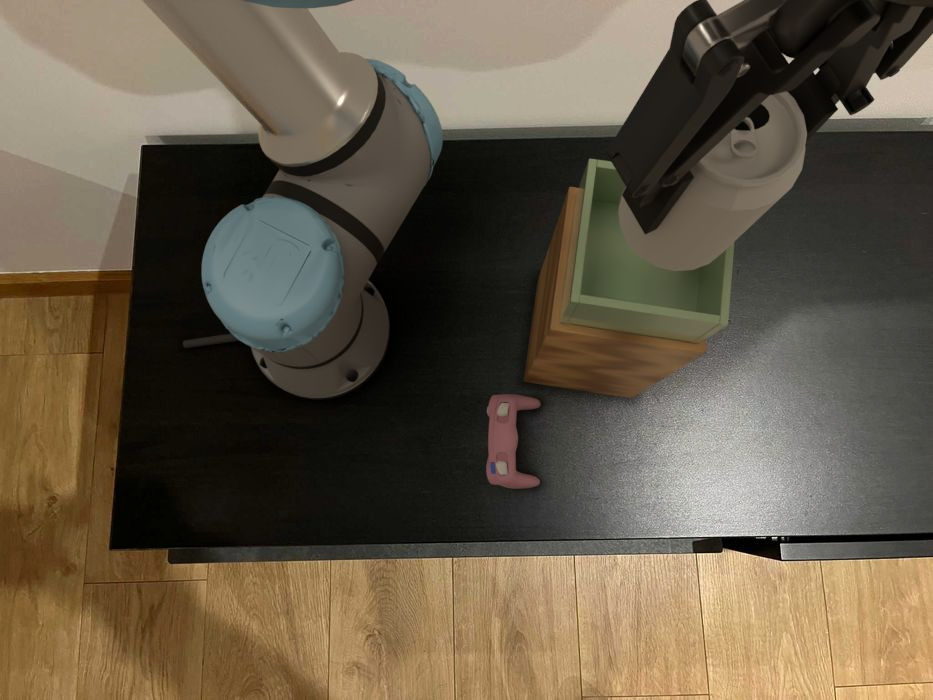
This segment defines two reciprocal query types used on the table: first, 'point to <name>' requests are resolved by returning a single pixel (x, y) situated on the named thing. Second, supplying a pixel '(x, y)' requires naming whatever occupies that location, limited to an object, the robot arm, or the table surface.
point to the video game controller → (507, 441)
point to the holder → (634, 274)
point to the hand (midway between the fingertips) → (700, 182)
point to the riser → (592, 338)
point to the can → (727, 189)
